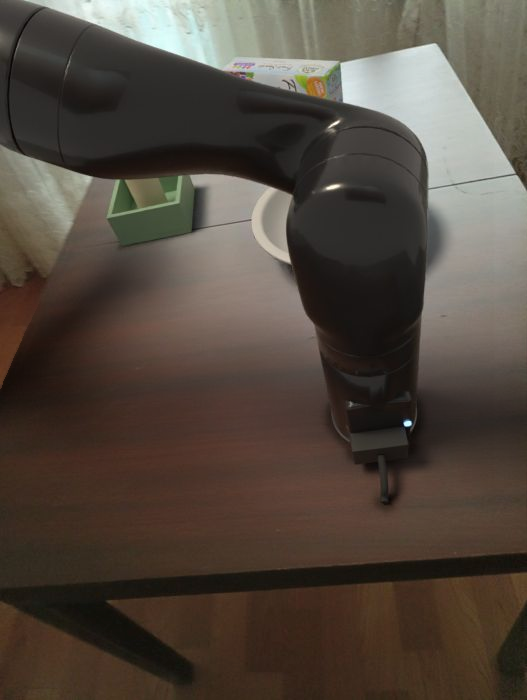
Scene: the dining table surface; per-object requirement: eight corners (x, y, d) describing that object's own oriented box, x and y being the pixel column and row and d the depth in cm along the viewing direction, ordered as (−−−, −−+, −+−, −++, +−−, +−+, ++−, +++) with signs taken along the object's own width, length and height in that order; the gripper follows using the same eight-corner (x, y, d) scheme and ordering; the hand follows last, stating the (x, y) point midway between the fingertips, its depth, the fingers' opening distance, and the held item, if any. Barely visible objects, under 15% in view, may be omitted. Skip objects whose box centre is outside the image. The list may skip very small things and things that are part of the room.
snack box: (349, 146, 90) (341, 58, 78) (334, 164, 88) (325, 76, 76) (253, 133, 100) (234, 54, 88) (238, 149, 98) (216, 69, 86)
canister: (170, 218, 86) (145, 162, 78) (140, 224, 87) (113, 169, 79) (172, 200, 90) (149, 144, 81) (144, 206, 90) (118, 151, 82)
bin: (191, 232, 84) (179, 202, 80) (121, 246, 86) (106, 218, 82) (194, 189, 92) (184, 160, 88) (131, 202, 94) (117, 174, 89)
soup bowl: (420, 302, 65) (422, 265, 60) (245, 301, 72) (234, 267, 67) (422, 189, 79) (424, 151, 73) (276, 197, 85) (268, 163, 80)
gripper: (-105, 141, 52) (24, 67, 57) (-144, 115, 59) (-26, 52, 65) (-54, 201, 57) (58, 129, 63) (-95, 170, 65) (8, 108, 71)
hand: (15, 90), depth 64 cm, fingers open, 8 cm apart
